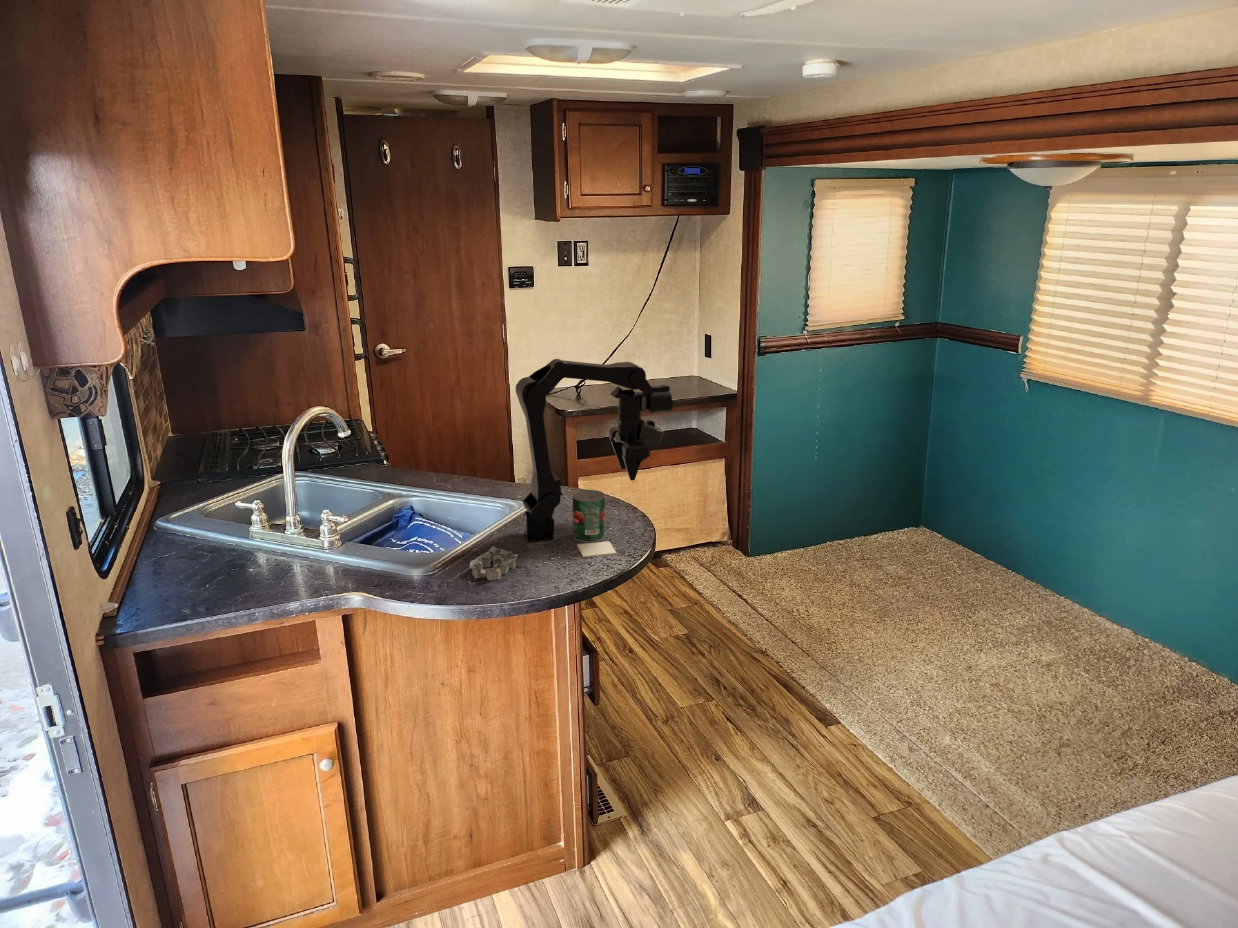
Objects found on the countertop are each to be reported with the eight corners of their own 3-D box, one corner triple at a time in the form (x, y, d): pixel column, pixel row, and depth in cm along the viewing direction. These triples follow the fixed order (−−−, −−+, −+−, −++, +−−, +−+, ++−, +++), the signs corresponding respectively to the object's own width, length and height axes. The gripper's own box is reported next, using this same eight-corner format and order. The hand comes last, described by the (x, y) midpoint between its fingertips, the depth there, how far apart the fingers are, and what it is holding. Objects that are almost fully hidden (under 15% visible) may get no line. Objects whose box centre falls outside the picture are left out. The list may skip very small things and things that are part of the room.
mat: (583, 557, 194) (583, 555, 194) (577, 545, 200) (577, 544, 200) (616, 554, 196) (616, 552, 196) (609, 542, 202) (609, 541, 202)
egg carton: (495, 584, 181) (494, 567, 180) (466, 577, 184) (465, 560, 183) (521, 565, 190) (520, 549, 189) (493, 559, 193) (493, 543, 192)
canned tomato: (566, 535, 206) (565, 494, 203) (590, 528, 211) (590, 487, 208) (586, 545, 201) (586, 502, 197) (611, 537, 206) (611, 495, 202)
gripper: (672, 422, 198) (669, 484, 203) (650, 404, 215) (648, 462, 220) (627, 424, 195) (624, 487, 200) (609, 405, 213) (607, 464, 217)
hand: (627, 474), depth 209 cm, fingers open, 9 cm apart
